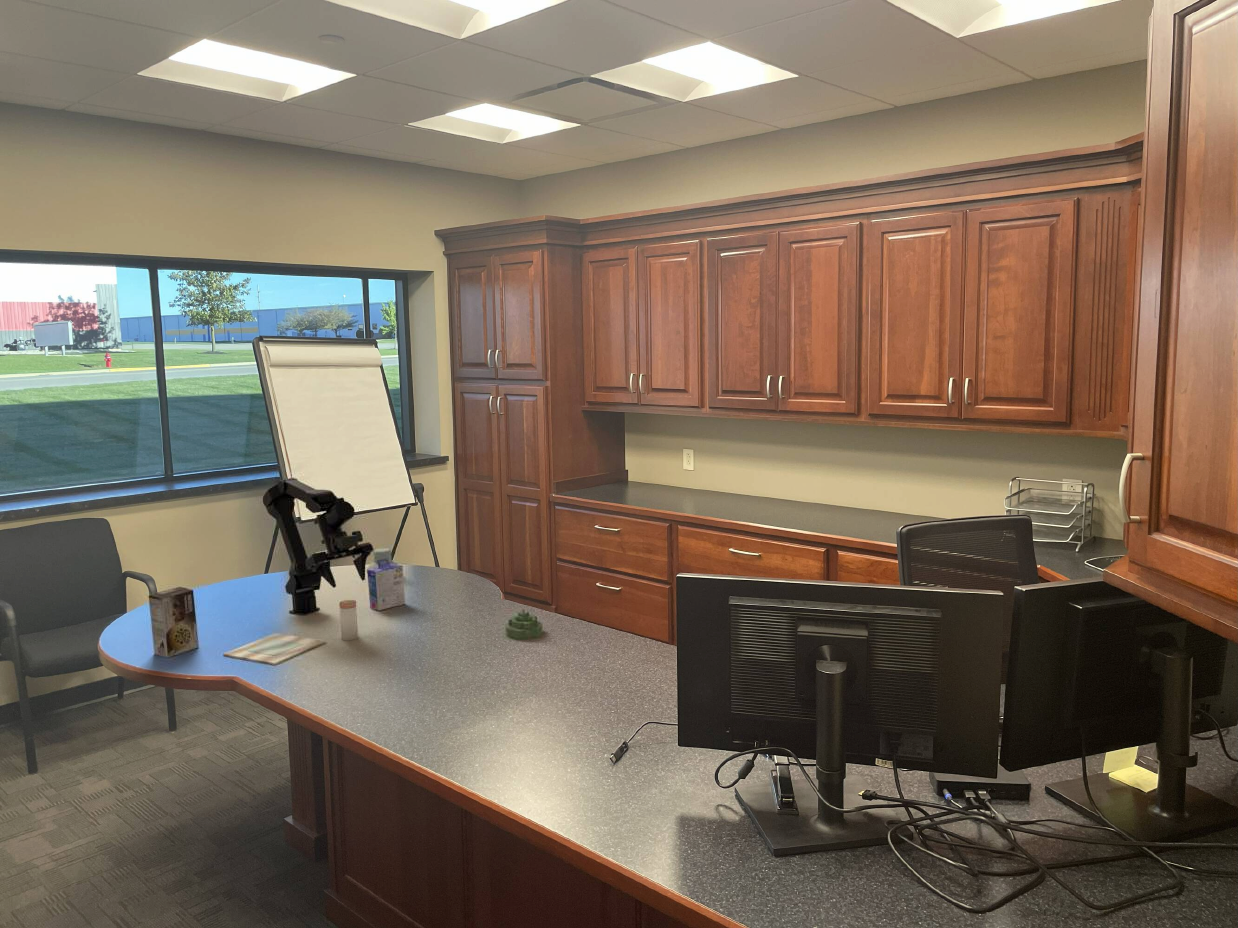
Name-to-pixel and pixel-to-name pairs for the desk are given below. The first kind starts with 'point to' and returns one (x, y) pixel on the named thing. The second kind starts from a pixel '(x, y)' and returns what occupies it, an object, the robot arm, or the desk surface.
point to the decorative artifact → (523, 626)
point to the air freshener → (381, 557)
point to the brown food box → (173, 621)
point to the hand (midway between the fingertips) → (349, 583)
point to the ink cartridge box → (386, 585)
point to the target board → (274, 648)
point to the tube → (348, 620)
